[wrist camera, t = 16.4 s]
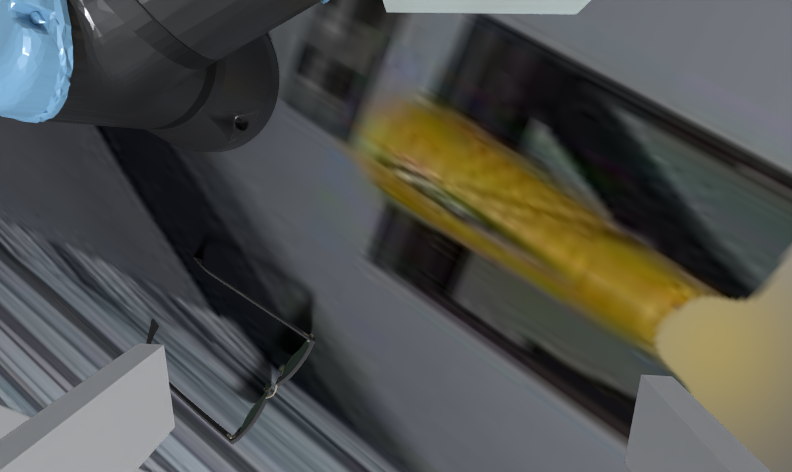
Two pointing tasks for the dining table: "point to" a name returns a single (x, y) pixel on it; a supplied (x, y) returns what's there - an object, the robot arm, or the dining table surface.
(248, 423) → the sunglasses
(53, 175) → the dining table surface
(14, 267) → the dining table surface
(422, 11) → the bin
